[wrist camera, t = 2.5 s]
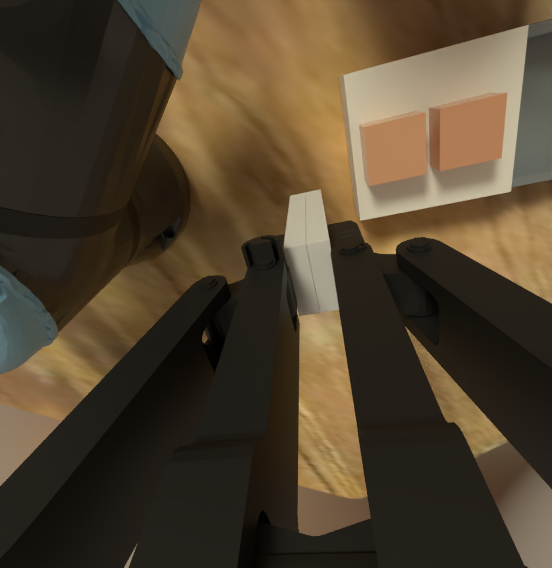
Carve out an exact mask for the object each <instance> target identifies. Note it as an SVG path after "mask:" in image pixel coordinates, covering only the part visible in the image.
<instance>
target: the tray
mask: <svg viewBox="0 0 552 568" xmlns="http://www.w3.org/2000/svg"><path fill="white" fill-rule="evenodd" d="M548 180H552V19H549V20H545V21H542V22H538V23H534V24H530V25H529V27H528V37H527V46H526V55H525V65H524V74H523V83H522V93H521V102H520V112H519V121H518V130H517V140H516V149H515V158H514V168H513V177H512V186H511V188H512V187H517V186H522V185H527V184H532V183H537V182H542V181H548Z"/></svg>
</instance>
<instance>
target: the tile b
mask: <svg viewBox="0 0 552 568" xmlns="http://www.w3.org/2000/svg"><path fill="white" fill-rule="evenodd" d="M506 104H507V93H487V94H483V95H479V96H475V97H470V98H466V99H462V100H458V101H454V102H450V103H446V104H442V105H438V106H433V107H429V163H430V166H432V167H433V168H435V169H437V170H438V171H444V170H448V169H453V168H458V167H463V166H467V165H472V164H477V163H482V162H486V161H491V160H496V159H501V158H502V148H503V137H504V126H505V115H506Z"/></svg>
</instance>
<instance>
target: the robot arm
mask: <svg viewBox="0 0 552 568" xmlns="http://www.w3.org/2000/svg"><path fill="white" fill-rule="evenodd" d="M200 3H201V0H0V374H3V373H6V372H9V371H11V370H13V369H15V368H17V367H19V366H20V365H22V364H23V363H25V362H26V361H27V360H28V359H29V358H31V357H32V356H33V355H34V354H35V353H36V352H38V351H39V350H40V349H41V348H43V347H45V346H47V345H50V344H51V343H52V342H53V341H54V340H55V338H56V337H57V336H58V332H59V331H60V330H61V329H62V328H63V327H64V326H66V325H67V324H68V323H69V322H70V321H71V320H72V319H73V318H74V317H75V316H76V315H77V314H78V313H79V312H80V311H81V310H82V309H83V308H84V307H85V306H86V305H87V304H88V303H89V302H90V301H91V300H92V299H93V298H94V297H95V296H96V295H97V294H98V293H99V292H100V291H101V290H102V289H103V288H104V287H105V286H106V285H107V284H108V283H109V282H110V281H111V280H112V279H113V278H114V277H115V276H116V275H117V274H118V273H119V272H120V271H121V270H122V269H123V268H124V267H127V266H130V265H134V264H137V263H141V262H144V261H147V260H150V259H153V258H155V257H157V256H158V255H160V254H162V253H163V252H164V251H166V250H167V249H168V248H169V247H170V246H171V245H172V244H173V243H174V242H175V240H176V239H177V238H178V237H179V236H180V234H181V233H182V231H183V229H184V227H185V225H186V223H187V219H188V215H189V210H190V194H189V187H188V183H187V180H186V176H185V174H184V171H183V169H182V167H181V165H180V163H179V161H178V159H177V158H176V156H175V155H174V153H173V152H172V150H171V149H170V148H169V147H168V145H167V144H166V143H165V142H164V141H163V140H162V139H161V138H160V137H159V136H158V135H157V134H156V130H157V128H158V125H159V123H160V120H161V118H162V115H163V113H164V110H165V108H166V105H167V103H168V100H169V98H170V95H171V93H172V90H173V88H174V85H175V83H176V80H177V79H178V80H180V79H181V77H182V73H183V70H182V66H181V65H182V61H183V58H184V55H185V52H186V48H187V45H188V42H189V39H190V36H191V33H192V30H193V27H194V24H195V21H196V18H197V15H198V11H199V7H200ZM241 249H242V252H243V255H244V258H245V262H246V265H247V268H248V269H247V272H246V275H245V278H244V279H243V280H240V281H238V282H235V283H232V284H229V285H228V284H227V281H226V278H225V277H223V276H217V275H216V276H207V277H204V278H202V279H201V280H199V281H197V282H196V283H194V284H193V285H192V286H191V287H190V288H189V289H188V290H187V291H186V292H185V293H184V294H183V295H182V296H181V297H180V298H179V299H178V300H177V301H176V303H175V304H174V305H173V306H172V307H171V308H170V309H169V310H168V311H167V312H166V313H165V314H164V315H163V316H162V317H161V318H160V319H159V320H158V321H157V322H156V323H155V325H154V326H153V327H152V328H151V329H150V330H149V331H148V332H147V333H146V334H145V335H144V336H143V337H142V338H141V339H140V340H139V341H138V342H137V343H136V344H135V346H134V347H133V348H132V349H131V350H130V351H129V352H128V353H127V354H126V355H125V356H124V357H123V358H122V359H121V360H120V361H119V362H118V363H117V364H116V365H115V367H114V368H113V369H112V370H111V371H110V372H109V373H108V374H107V375H106V376H105V377H104V378H103V379H102V380H101V381H100V382H99V383H98V384H97V385H96V386H95V387H94V389H93V390H92V391H91V392H90V393H89V394H88V395H87V396H86V397H85V398H84V399H83V400H82V401H81V402H80V403H79V404H78V405H77V406H76V407H75V408H74V410H73V411H72V412H71V413H70V414H69V415H68V416H67V417H66V418H65V419H64V420H63V421H62V422H61V423H60V424H59V425H58V426H57V427H56V429H54V431H53V432H52V433H51V434H50V435H49V436H48V437H47V438H46V439H45V440H44V441H43V442H42V443H41V444H40V445H39V446H38V448H36V449H35V451H33V453H32V454H31V455H30V456H29V457H28V458H27V459H26V460H25V461H24V462H23V463H22V464H21V465H20V466H19V467H18V468H17V469H16V470H15V471H14V472H13V474H12V475H11V476H10V477H9V478H8V479H7V480H6V481H5V482H4V483H3V484H2V485H1V486H0V568H124V566H125V564H126V563H127V561H128V559H129V557H130V555H131V554H132V552H133V550H134V548H135V546H136V545H137V546H136V549H135V552H134V555H133V557H132V560H131V563H130V566H129V568H528V567H526V566H524V564H523V562H522V560H521V557H520V555H519V553H518V551H517V549H516V547H515V544H514V542H513V540H512V538H511V536H510V534H509V531H508V529H507V527H506V525H505V523H504V521H503V519H502V516H501V514H500V512H499V510H498V508H497V505H496V503H495V501H494V499H493V497H492V495H491V493H490V490H489V489H488V486H487V484H486V482H485V480H484V477H483V475H482V473H481V471H480V469H479V467H478V465H477V463H476V460H475V458H474V456H473V454H472V452H471V449H470V447H469V445H468V443H467V441H466V439H465V437H464V435H463V433H462V432H461V430H460V428H459V427H458V426H457V425H456V424H455V423H454V422H452V423H447V422H446V420H445V418H444V416H443V414H442V412H441V410H440V407H439V405H438V403H437V400H436V398H435V396H434V393H433V391H432V389H431V386H430V384H429V382H428V379H427V377H426V375H425V372H424V370H423V368H422V365H421V363H420V361H419V358H418V356H417V353H416V351H415V349H414V346H413V344H412V342H411V339H410V337H409V335H408V332H407V330H406V328H405V326H406V327H407V329H408V330H409V331H410V332H411V333H412V334H413V335H414V336H415V337H416V339H417V340H418V341H419V342H420V343H421V344H422V345H423V346H424V347H425V349H426V350H427V351H428V352H429V353H430V354H431V355H432V356H433V357H434V359H435V360H436V361H437V362H438V363H439V364H440V365H441V366H442V368H443V369H444V370H445V371H446V372H447V373H448V374H449V375H450V376H451V378H452V379H453V380H454V381H455V382H456V383H457V384H458V385H459V386H460V388H461V389H462V390H463V391H464V392H465V393H466V394H467V395H468V396H469V398H470V399H471V400H472V401H473V402H474V403H475V404H476V405H477V406H478V408H479V409H480V410H481V411H482V412H483V413H484V414H485V415H486V416H487V418H488V419H489V420H490V421H491V422H492V423H493V424H494V425H495V426H496V428H497V429H498V430H499V431H500V432H501V433H502V434H503V435H504V437H505V438H506V439H507V440H508V441H509V442H510V443H511V444H512V445H513V447H515V449H516V450H517V451H518V452H519V453H520V454H521V455H522V456H523V458H524V459H525V460H526V461H527V462H528V463H529V464H530V465H531V466H532V468H533V469H534V470H535V471H536V472H537V473H538V474H539V475H540V477H541V478H542V479H543V480H544V481H545V482H546V483H547V484H548V485H549V487H550V488H551V489H552V304H551V303H549V302H548V301H546V300H544V299H542V298H541V297H539V296H537V295H535V294H533V293H532V292H530V291H528V290H526V289H524V288H523V287H521V286H519V285H517V284H516V283H514V282H512V281H510V280H508V279H507V278H505V277H503V276H501V275H499V274H498V273H496V272H494V271H492V270H491V269H489V268H487V267H485V266H483V265H482V264H480V263H478V262H476V261H474V260H473V259H471V258H469V257H467V256H465V255H464V254H462V253H460V252H458V251H457V250H455V249H453V248H451V247H449V246H448V245H446V244H444V243H442V242H440V241H438V240H435V239H430V238H426V237H420V238H419V237H418V238H413V239H410V240H407V241H404V242H402V243H400V244H399V245H398V246H397V248H396V254H378V253H374V252H373V250H372V248H371V246H370V245H369V244H368V243H365V242H364V239H363V237H362V234H361V232H360V230H359V227H358V225H357V223H355V222H352V221H345V222H340V223H335V224H330V225H327V223H326V217H325V212H324V206H323V200H322V195H321V189H319V190H315V191H310V192H305V193H301V194H296V195H291V196H290V201H289V209H288V216H287V224H286V232H285V234H283V235H278V236H272V235H267V236H261V237H257V238H254V239H251V240H249V241H247V242H246V243H244V244H243V245H242V247H241ZM297 308H298V312H299V316H300V315H307V314H314V313H320V312H327V311H334V310H339V312H340V319H341V325H342V332H343V338H344V344H345V351H346V357H347V364H348V370H349V376H350V383H351V389H352V396H353V402H354V409H355V415H356V421H357V428H358V437H359V443H360V450H361V456H362V463H363V469H364V476H365V482H366V489H367V495H368V502H369V508H370V515H371V519H368V520H365V521H362V522H359V523H356V524H353V525H350V526H347V527H345V528H342V529H339V530H336V531H333V532H330V533H327V534H325V535H321V536H309V535H305V534H302V533H299V530H298V515H297V504H298V415H299V324H300V323H299V319H298V315H297ZM204 330H205V333H206V335H207V337H208V340H207V341H206V343H205V344H204V343H203V342H202V335H203V332H204ZM137 543H138V544H137Z"/></svg>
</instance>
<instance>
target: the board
mask: <svg viewBox="0 0 552 568" xmlns="http://www.w3.org/2000/svg"><path fill="white" fill-rule="evenodd" d="M528 27H529V25H526V26H522V27H518V28H515V29H511V30H507V31H504V32H500V33H496V34H493V35H489V36H485V37H481V38H478V39H474V40H470V41H467V42H463V43H459V44H456V45H452V46H448V47H445V48H441V49H437V50H433V51H430V52H426V53H422V54H419V55H415V56H411V57H408V58H404V59H400V60H397V61H393V62H389V63H385V64H382V65H378V66H374V67H371V68H367V69H363V70H360V71H356V72H352V73H349V74H345V75H342V76H340V77H339V83H340V91H341V99H342V107H343V116H344V124H345V132H346V141H347V149H348V157H349V165H350V174H351V182H352V190H353V198H354V207H355V210H356V212H357V214H358V217H359V219H360V221H362V220H367V219H372V218H377V217H383V216H388V215H393V214H398V213H403V212H408V211H414V210H419V209H424V208H429V207H434V206H439V205H445V204H450V203H455V202H460V201H465V200H470V199H476V198H481V197H486V196H491V195H496V194H502V193H507V192H511V186H512V177H513V168H514V158H515V149H516V140H517V130H518V121H519V112H520V102H521V93H522V83H523V74H524V65H525V55H526V46H527V37H528ZM487 93H507V104H506V115H505V126H504V137H503V148H502V158H501V159H496V160H491V161H486V162H482V163H477V164H472V165H467V166H463V167H458V168H453V169H448V170H444V171H438V170H437V169H435V168H433V167H432V166H430V163H429V107H433V106H438V105H442V104H446V103H450V102H454V101H458V100H462V99H466V98H470V97H475V96H479V95H483V94H487ZM413 111H420V112H426V164H427V174H425V175H420V176H415V177H410V178H406V179H401V180H396V181H391V182H387V183H382V184H377V185H372V186H369V185H368V184H367V182H366V181H365V180H364V171H363V161H362V151H361V142H360V132H359V124H363V123H368V122H372V121H376V120H380V119H384V118H388V117H392V116H396V115H401V114H405V113H409V112H413Z"/></svg>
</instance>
